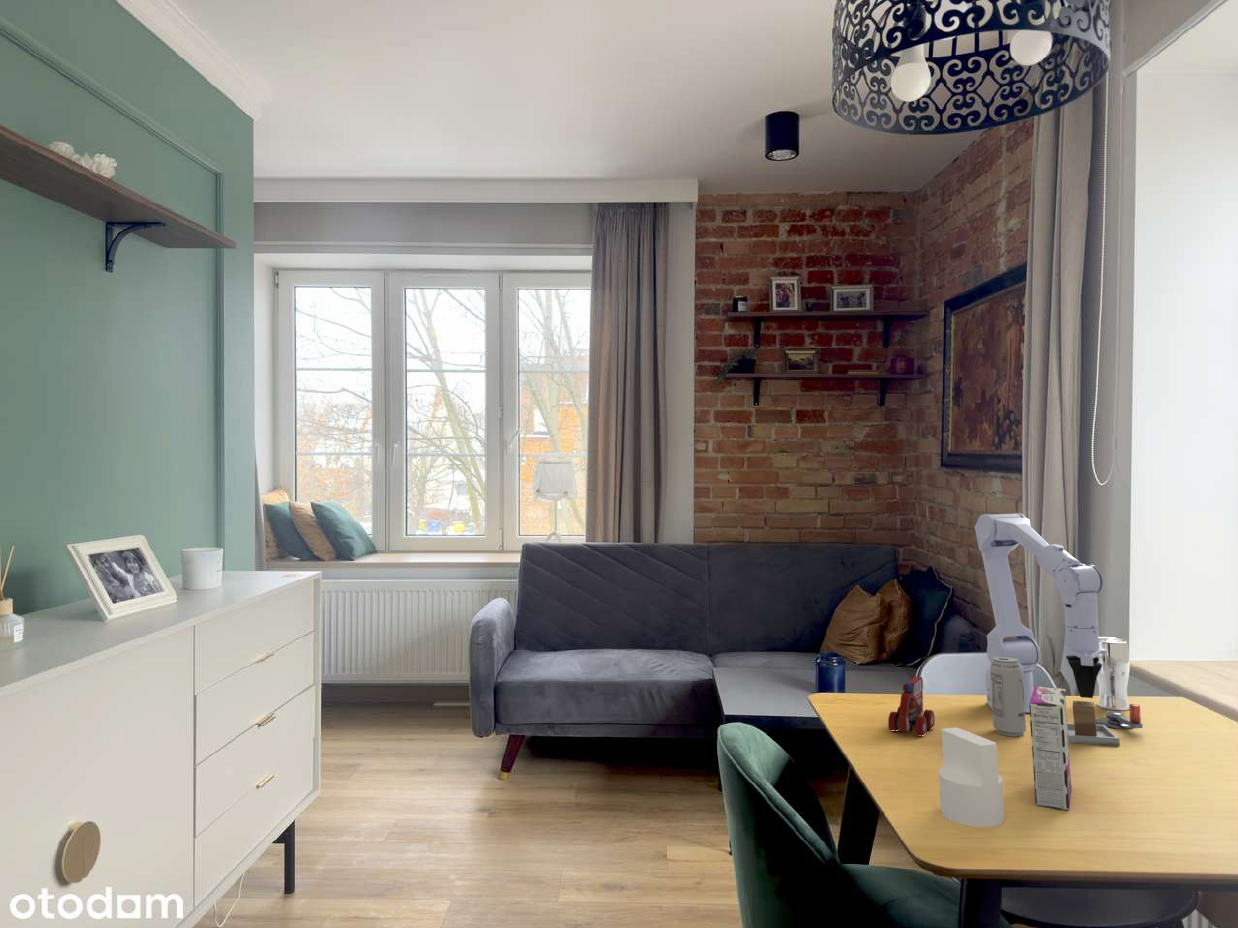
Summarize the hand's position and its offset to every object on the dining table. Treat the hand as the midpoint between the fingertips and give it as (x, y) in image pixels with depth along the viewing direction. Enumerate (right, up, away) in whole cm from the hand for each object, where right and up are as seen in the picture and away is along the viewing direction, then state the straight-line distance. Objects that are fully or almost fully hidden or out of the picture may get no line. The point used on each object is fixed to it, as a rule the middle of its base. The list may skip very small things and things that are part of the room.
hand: (1085, 694), depth 154 cm
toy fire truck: (-32, -10, +7) cm, 34 cm away
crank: (+11, -7, +5) cm, 14 cm away
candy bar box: (-23, -8, -29) cm, 37 cm away
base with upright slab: (-39, -8, -35) cm, 53 cm away
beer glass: (+19, -9, +20) cm, 29 cm away
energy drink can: (-13, -9, +4) cm, 16 cm away
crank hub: (+11, -8, +8) cm, 16 cm away
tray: (0, -8, 0) cm, 8 cm away
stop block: (-1, -8, -2) cm, 8 cm away
